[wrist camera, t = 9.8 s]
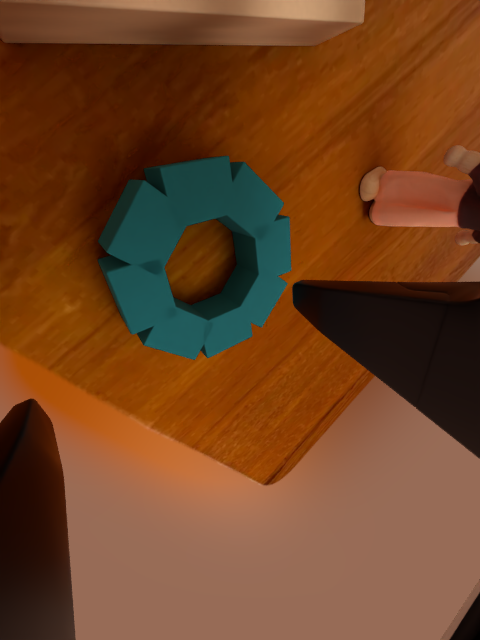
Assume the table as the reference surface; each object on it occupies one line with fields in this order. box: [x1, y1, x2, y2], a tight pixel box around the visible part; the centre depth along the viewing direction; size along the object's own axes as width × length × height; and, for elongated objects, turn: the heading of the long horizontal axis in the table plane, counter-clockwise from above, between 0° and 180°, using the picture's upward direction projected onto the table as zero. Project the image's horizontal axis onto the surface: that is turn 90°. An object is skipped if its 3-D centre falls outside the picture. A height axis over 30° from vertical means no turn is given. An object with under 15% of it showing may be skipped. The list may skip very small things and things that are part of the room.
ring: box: [98, 156, 291, 360], centre depth 15 cm, size 10×10×2 cm
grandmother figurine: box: [360, 145, 480, 245], centre depth 17 cm, size 8×4×13 cm, turn 54°
